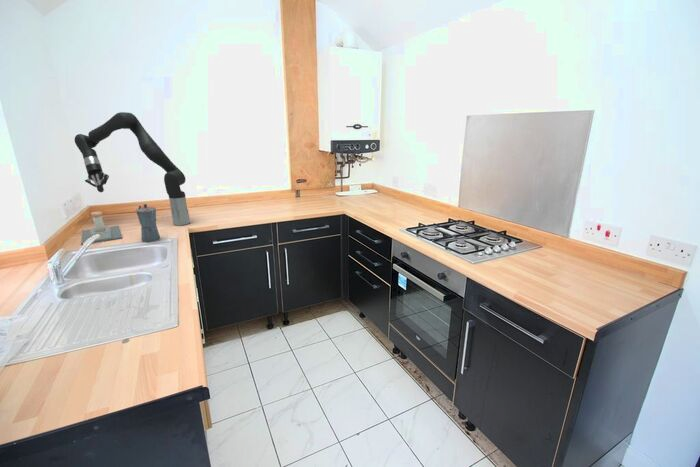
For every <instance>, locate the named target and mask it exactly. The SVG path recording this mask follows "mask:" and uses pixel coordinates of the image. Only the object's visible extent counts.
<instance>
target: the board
mask: <svg viewBox="0 0 700 467" xmlns="http://www.w3.org/2000/svg"><path fill="white" fill-rule="evenodd" d="M105 227H106V226H104V228H105ZM95 231H96V229H95ZM105 231H106V229H105ZM110 231H111V236H112V238H109V239H103V240H97V241H94V242H93V243H92V244H97V243H98V244H99V243H103V242H104V243H105V242H110V241H116V240H122V239H123V236H122V231H121V228H120V225H118V224H117V225H112V226H111V225H110ZM90 237H91V235H90V229H84V230H83V229H82V230H81V240H80V241H81V246H84V245H83V243H84V242H85V241H86V240H87V239H88V238H90Z"/></svg>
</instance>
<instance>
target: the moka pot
mask: <svg viewBox="0 0 700 467" xmlns="http://www.w3.org/2000/svg"><path fill="white" fill-rule="evenodd" d="M135 210H136V212H135V213H136V215H137V217H138V218H137V219H138V221H139V224H140V228H141V231H140V232H141V233H140V236H141V238H140V239H141V241H142V242H145V243H152V242H157V241H158V240H159V241H160V239H161V236H160V233H159V230H158V226H157V209H156V207H153V206H148V205H147V204H146V203H145V204H143V206H141V205H139V206H138V208H137V209H135Z"/></svg>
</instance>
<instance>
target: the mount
mask: <svg viewBox="0 0 700 467" xmlns="http://www.w3.org/2000/svg"><path fill="white" fill-rule="evenodd" d="M104 227H105V229H106V231H102V232H96V231H95V227H93V228H90V229H89V230H90V235H91V237H92V236H93V235H96V234H99V235H100V237H99V238H98V239H97V240H103V239H109V238H112V236H111V231H110V227H111V225H108V226H107V225H106V226H104ZM97 240H95V241H97Z"/></svg>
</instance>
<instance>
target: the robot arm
mask: <svg viewBox="0 0 700 467" xmlns="http://www.w3.org/2000/svg"><path fill="white" fill-rule="evenodd" d="M122 129H123V130H124V129H125V130H130V131H131V132H132V133H133V135H135V137H136V139H137V141H138V145H139V149H140V150H141V152H142V153H143V154H144V155H145V156H146V157H147V159H149V161H151V162H152V163H153V164H156V165H157V166H158V167H160V168H162V169H163V170H164V171H165V172H166V173H165V174H164V177H163V181H164V186H165V190H166V194H167V195H168V200H169V206H170V211H171V212H170V213H171V218H172V224H173V226H180V227H181V226H186V225H189V223H190V224H191V220H190V213H189V209H188V203H187V199H186V193H185V192H184V191H182V189H181V185H183V184H186V183H185V182H186V176H185V174H184V173H183V172H182V170H181V169H180V168H178V167H177V166H176V164H174V163H173V161H171V159H170V158H169V157H168V156H167V154H166V153H165V152H164V151H163V149H162V148H161V147H160V145H158V143H157V142H156V141H155V140H154V139H153V138H152V137H151V136H150V134H149V133H148V132H147V131H146V130H147V129H145V128H144V126H143V125H142V123H141V122H140V120H139V119H138V118H137V117H136V115H135V114H133V113H132V112H125V111H124V112H123V111H119V112H117V113H116V114H114V115H113V116H112V117H111V118H109V119H108V120H106V122H104V123H102V124H101V125H99V126H98V127H96V128H94V129H92V130H90V131H89V132H88V134H86V135H85V134H81V133H78V134H76V135H75V136H74V143H75V145H76V147H77V148H78V150H79V152H80V153H81V155H82V158H83V162H84V165H85V169H86V172H87V175H88V176H87V179H85V180H84V181H85V183H87V184H89V185H90V186H92V187H94V188H96V190H97V192H98V193H103V192H104V191H105V188H104V185H106V184H107V182H108V180H109V177H110V175H108V174H107V173H105V172H103V168H102V164H101V161H100V160H99V157H98V154H97V151H96V150H95V149H94V148H96V147H97V146H98V144H99V143H101V141H104V140H105V139H107V138H109V137H110V136H111V135H112V133H114V132H115V131H119V130H122ZM92 181H93V182H92Z"/></svg>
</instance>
